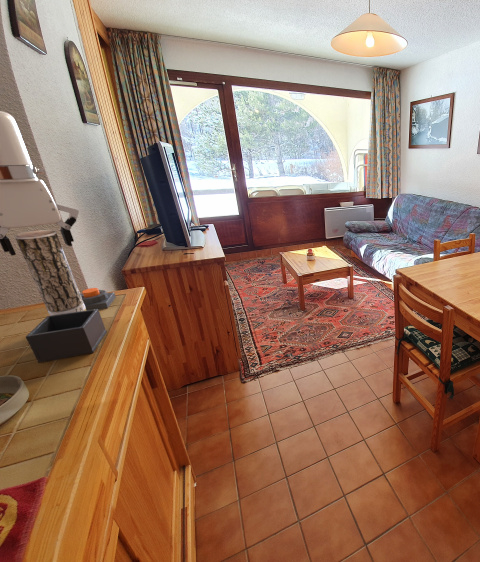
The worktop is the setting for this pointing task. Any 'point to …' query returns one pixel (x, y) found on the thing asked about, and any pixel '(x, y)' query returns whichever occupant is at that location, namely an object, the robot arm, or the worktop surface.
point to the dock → (67, 335)
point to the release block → (98, 300)
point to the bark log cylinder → (50, 271)
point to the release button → (90, 292)
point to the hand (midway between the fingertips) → (42, 249)
